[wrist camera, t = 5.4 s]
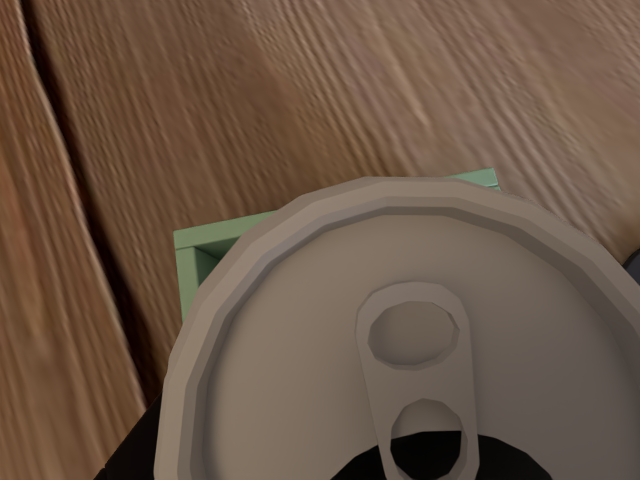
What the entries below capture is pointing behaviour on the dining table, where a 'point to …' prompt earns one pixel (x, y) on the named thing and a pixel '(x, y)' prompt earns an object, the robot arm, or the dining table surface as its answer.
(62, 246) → the dining table surface
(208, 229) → the green open box
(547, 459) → the can
